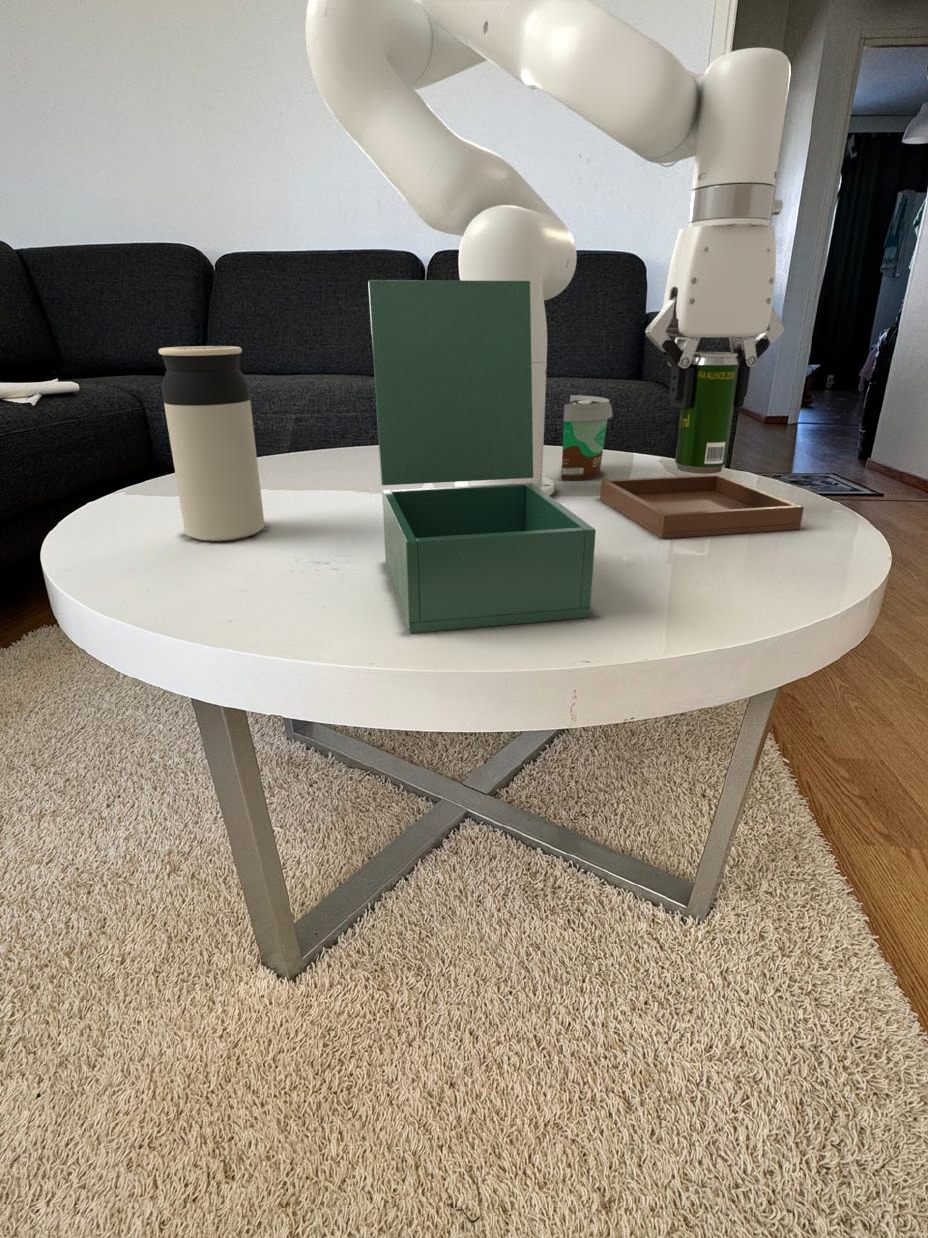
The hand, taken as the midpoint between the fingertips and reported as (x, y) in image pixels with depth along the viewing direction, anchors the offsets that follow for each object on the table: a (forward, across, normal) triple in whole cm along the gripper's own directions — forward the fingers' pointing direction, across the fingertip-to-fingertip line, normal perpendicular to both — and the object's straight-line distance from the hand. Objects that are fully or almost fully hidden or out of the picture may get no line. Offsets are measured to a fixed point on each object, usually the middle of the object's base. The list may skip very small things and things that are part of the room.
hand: (706, 404), depth 77 cm
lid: (-4, +29, +9) cm, 31 cm away
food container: (+12, +4, -23) cm, 26 cm away
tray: (+12, 0, 0) cm, 12 cm away
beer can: (+7, 0, 0) cm, 7 cm away
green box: (+12, +29, +18) cm, 36 cm away
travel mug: (+12, +51, -4) cm, 53 cm away
